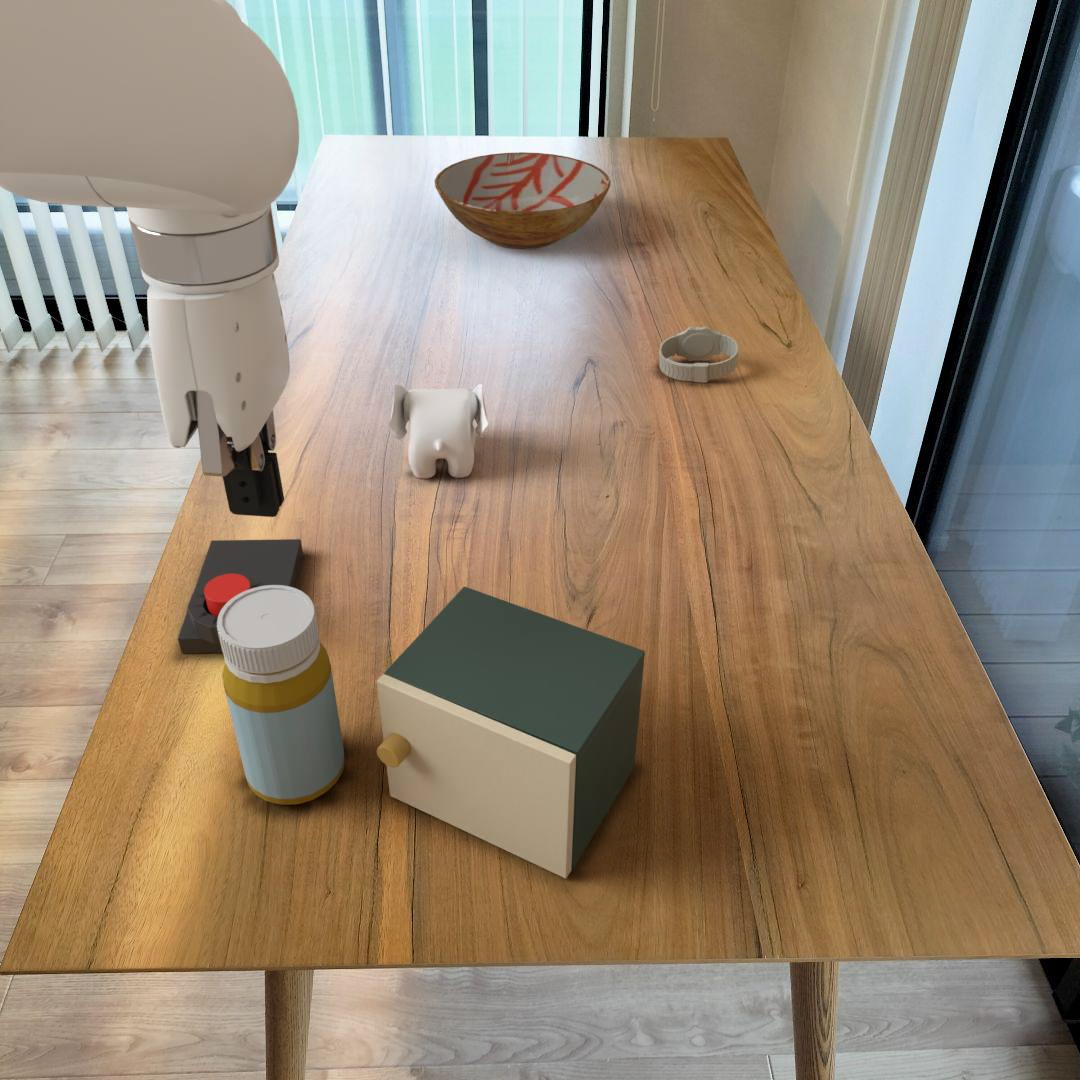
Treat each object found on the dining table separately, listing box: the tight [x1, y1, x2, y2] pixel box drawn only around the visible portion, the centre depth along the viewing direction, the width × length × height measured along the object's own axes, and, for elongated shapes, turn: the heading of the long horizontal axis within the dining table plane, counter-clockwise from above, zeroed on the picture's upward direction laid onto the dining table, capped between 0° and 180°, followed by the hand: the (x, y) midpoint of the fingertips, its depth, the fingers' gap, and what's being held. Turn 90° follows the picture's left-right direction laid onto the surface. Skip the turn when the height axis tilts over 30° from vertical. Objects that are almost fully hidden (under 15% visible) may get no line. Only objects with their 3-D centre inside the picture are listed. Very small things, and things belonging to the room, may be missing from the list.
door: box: [376, 673, 576, 880], centre depth 69 cm, size 2×14×11 cm, turn 61°
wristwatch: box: [658, 326, 739, 384], centre depth 124 cm, size 9×6×5 cm
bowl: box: [434, 151, 611, 250], centre depth 156 cm, size 25×25×8 cm
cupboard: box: [383, 585, 646, 871], centre depth 74 cm, size 10×14×12 cm
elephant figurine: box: [388, 383, 489, 479], centre depth 108 cm, size 10×12×9 cm
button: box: [204, 574, 251, 617], centre depth 87 cm, size 4×4×2 cm
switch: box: [177, 538, 304, 655], centre depth 91 cm, size 14×8×4 cm, turn 2°
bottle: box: [217, 585, 346, 806], centre depth 73 cm, size 7×7×15 cm
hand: (257, 508), depth 71 cm, fingers closed
